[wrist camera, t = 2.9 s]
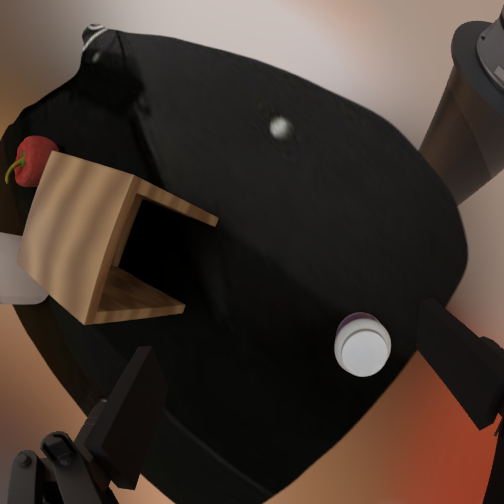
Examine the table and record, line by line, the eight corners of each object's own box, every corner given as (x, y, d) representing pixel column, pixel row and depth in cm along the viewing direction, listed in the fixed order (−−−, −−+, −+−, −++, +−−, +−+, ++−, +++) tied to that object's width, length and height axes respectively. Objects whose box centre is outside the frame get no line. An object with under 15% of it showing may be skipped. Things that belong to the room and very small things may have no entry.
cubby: (219, 218, 39) (134, 175, 22) (182, 313, 39) (84, 325, 23) (140, 189, 43) (52, 150, 27) (110, 271, 43) (16, 262, 27)
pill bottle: (326, 341, 33) (319, 362, 24) (353, 302, 33) (357, 309, 24) (364, 367, 32) (369, 395, 23) (391, 328, 31) (408, 344, 22)
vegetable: (49, 203, 50) (10, 192, 41) (32, 184, 53) (-3, 173, 44) (73, 153, 50) (35, 135, 40) (54, 139, 53) (20, 123, 43)
